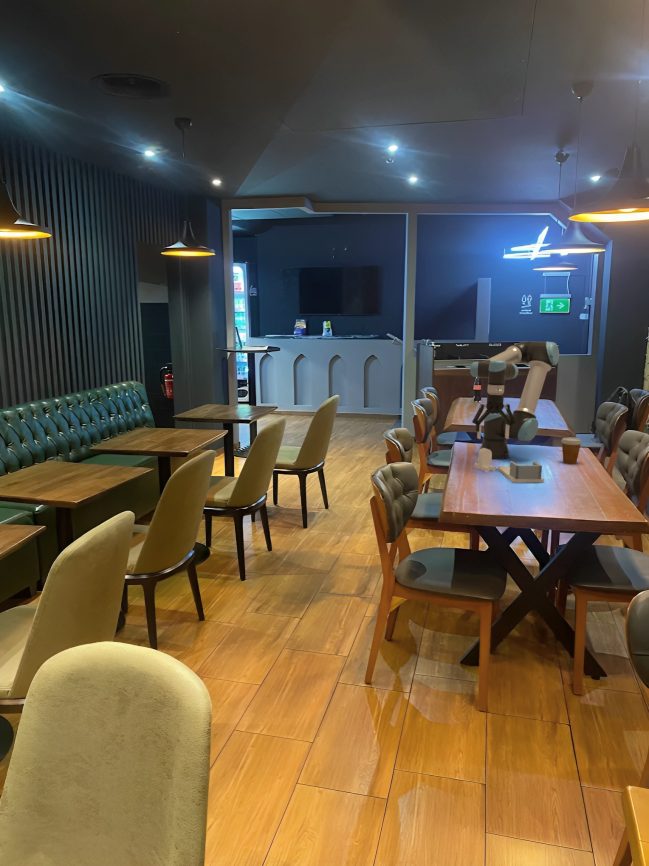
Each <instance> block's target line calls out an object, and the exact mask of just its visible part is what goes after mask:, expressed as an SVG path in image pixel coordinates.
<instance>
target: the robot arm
mask: <svg viewBox="0 0 649 866" xmlns="http://www.w3.org/2000/svg"><path fill="white" fill-rule="evenodd" d="M559 359H560V350H559V347H558V345H557V343H556V342H553V341H548V340H547V341H537V340H534V341H532V340H531V341H530V340H526V341H521V342H518V343H515V344H512V345H511V346H508V347H507V348H506V349H505V350H504V351H502V352H500V353H498V354H496V355H494V356H492V357H490V358H488V359H485V360H483V361H473V362H472V363H471V365H470V368H469V369H470V371H469V373H470V375H471V377H474V378H478V379H480V378H482V379H488V380H487V392H486V393H488V394H487V395H486V404H483V403H480V404H479V408H478V409H477V412H476V414H475V415H474V416H473V419H472V421H471V423H472V424H474V425H475V432H476V434H477V435H476V438H477V439H479V440H482V442H481V444H480V445H481V446H480V448H479V450H480V449H482V448H486V449H489V450H491V452H492V458H494V459H495V460H501V458H503V459H507V458H506V457H508V456H509V457H510V450H509V447H508V443H507V440H509V439H511V440H517V441H525V442H526V441H527V442H528V441H532V440H533V439H534V437H535V436H536V434H537V433H538V429H539V421H538V419H537V416H536V413H535V412H536V409H537V406H538V403H539V401H540V396H541V393H542V390H543V386H544V383H545V380H546V377H547V374H548V372H550V371H551V370H552V368H553V366H557V365H558V363H559V361H560V360H559ZM516 364H528V366H529V371H528V374H527V377H526V380H525V384H524V387H523V389H522V393H521V397H520V399H519V402H518V405H517V409H514V410H511V405H510V403H505V404H504V398H505V395H504V393H505V381H508V380H513V379H516V378H517V377H518V374H519V368H518V366H517V365H516ZM485 409H486V410H485ZM503 409H505V411H503ZM484 410H485V411H484ZM483 412H484V413H483ZM482 413H483V414H482ZM482 423H483V437H482V439H481V436H482V425H481V424H482ZM509 457H508V458H509Z"/></svg>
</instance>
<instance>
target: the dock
mask: <svg viewBox="0 0 649 866" xmlns="http://www.w3.org/2000/svg"><path fill="white" fill-rule="evenodd" d="M509 462H510V463H509V466H508V465H506V466H505V465H502V466H501V465H498V466H497V470H498V471H499V472H500V473H501V474H502V475H503V474H504V475H503V476H505V477H506V478H507V479H508V480H509V481H510V482H511V481H512V482H511V483H544V481H545V479H544V478H543V477H542V469H543V468H542V467H543V465H541V464H540V463H538V462H537V461H535V460H534V461H533V460H532V464H530V465H528V464H526V465H523V464H521V465H518V464H517V463H516V462H515V461H509Z"/></svg>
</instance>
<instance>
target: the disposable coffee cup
mask: <svg viewBox="0 0 649 866" xmlns="http://www.w3.org/2000/svg"><path fill="white" fill-rule="evenodd" d="M560 443H561V448H562V450H561V451H562V462H563V464H567V463H568V464H567V465H575V464H577V463H578V458H579V454H580V450H581V444H582V443H583V442H582V440H581V438H577V437H569V436H568V437H562V439H561V440H560Z"/></svg>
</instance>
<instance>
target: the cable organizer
mask: <svg viewBox="0 0 649 866" xmlns="http://www.w3.org/2000/svg"><path fill="white" fill-rule="evenodd" d="M475 467H477V468H476V469H478V468H479V469H478V470H480V469H481V471H483V470H484V471H483V472H485V471H489V472H490V471H491V470H492V471H491V472H495V471H496V466H494V465H492V452H491V450H489V449H486V448H482V449H480V448H479V450H478V455H477V462H475V463H474V468H475Z"/></svg>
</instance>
